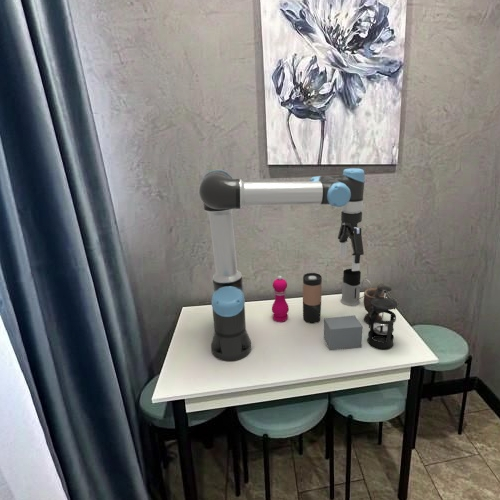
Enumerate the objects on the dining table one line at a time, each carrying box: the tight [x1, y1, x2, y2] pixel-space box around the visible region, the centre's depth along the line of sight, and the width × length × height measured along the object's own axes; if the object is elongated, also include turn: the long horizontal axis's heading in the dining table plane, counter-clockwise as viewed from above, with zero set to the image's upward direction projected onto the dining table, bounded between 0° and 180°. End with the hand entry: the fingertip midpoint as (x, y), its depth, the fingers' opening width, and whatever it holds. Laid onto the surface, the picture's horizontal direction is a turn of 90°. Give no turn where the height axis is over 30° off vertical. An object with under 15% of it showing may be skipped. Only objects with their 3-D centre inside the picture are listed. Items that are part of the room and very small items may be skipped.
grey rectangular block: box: [323, 314, 364, 351], centre depth 133 cm, size 12×8×9 cm, turn 95°
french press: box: [366, 285, 398, 351], centre depth 131 cm, size 12×9×23 cm
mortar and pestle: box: [363, 283, 387, 324], centre depth 144 cm, size 12×9×20 cm
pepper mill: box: [271, 275, 290, 323], centre depth 150 cm, size 7×7×20 cm
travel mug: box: [302, 272, 323, 324], centre depth 148 cm, size 8×8×20 cm
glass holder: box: [340, 268, 372, 307], centre depth 160 cm, size 9×14×15 cm, turn 40°
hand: (348, 263), depth 140 cm, fingers open, 13 cm apart
